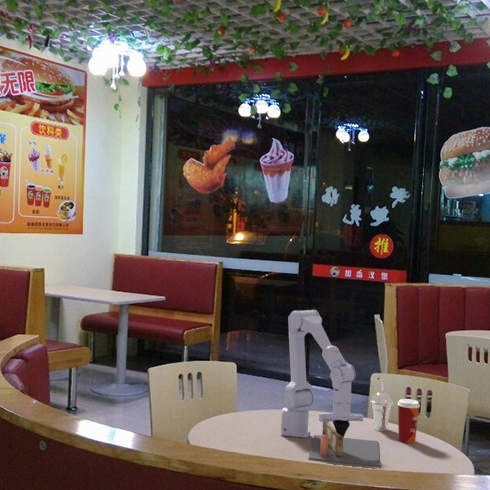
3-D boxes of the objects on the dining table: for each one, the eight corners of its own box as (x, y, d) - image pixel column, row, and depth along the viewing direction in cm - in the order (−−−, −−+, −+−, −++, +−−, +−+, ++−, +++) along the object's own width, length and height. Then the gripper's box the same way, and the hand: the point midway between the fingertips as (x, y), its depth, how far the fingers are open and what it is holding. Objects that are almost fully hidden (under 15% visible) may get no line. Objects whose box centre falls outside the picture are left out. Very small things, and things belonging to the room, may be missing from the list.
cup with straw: (397, 430, 245) (399, 376, 245) (379, 434, 240) (382, 379, 240) (380, 424, 252) (382, 371, 252) (362, 427, 247) (365, 374, 247)
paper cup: (418, 445, 229) (420, 405, 229) (395, 443, 231) (397, 403, 231) (417, 438, 237) (419, 399, 237) (395, 436, 239) (397, 397, 238)
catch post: (319, 458, 213) (320, 436, 213) (320, 455, 215) (321, 434, 215) (327, 458, 212) (328, 437, 212) (327, 456, 215) (328, 434, 214)
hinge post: (321, 441, 229) (322, 419, 229) (322, 439, 231) (323, 418, 231) (327, 442, 229) (328, 420, 229) (328, 440, 231) (329, 418, 231)
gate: (323, 439, 228) (324, 422, 228) (329, 439, 228) (329, 422, 228) (336, 455, 213) (337, 436, 213) (342, 455, 213) (343, 436, 213)
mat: (308, 459, 211) (308, 457, 211) (314, 436, 235) (314, 434, 235) (379, 466, 207) (379, 465, 207) (378, 442, 231) (378, 441, 231)
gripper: (324, 405, 214) (322, 447, 214) (367, 404, 217) (365, 446, 217) (317, 399, 221) (316, 440, 221) (359, 399, 223) (357, 439, 224)
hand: (340, 442), depth 220 cm, fingers closed
